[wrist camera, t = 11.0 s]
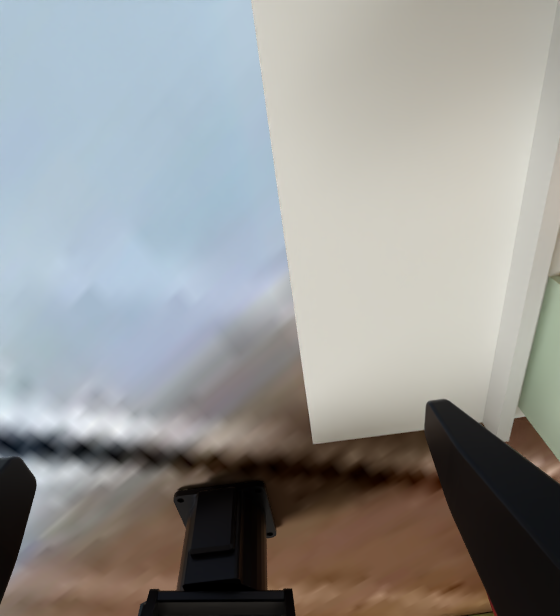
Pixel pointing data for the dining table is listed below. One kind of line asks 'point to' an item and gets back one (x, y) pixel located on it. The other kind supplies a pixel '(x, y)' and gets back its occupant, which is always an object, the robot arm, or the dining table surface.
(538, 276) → the shelf
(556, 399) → the sage tea box
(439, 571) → the dining table surface
